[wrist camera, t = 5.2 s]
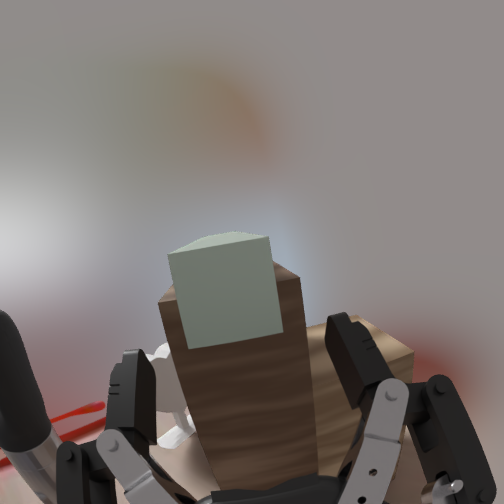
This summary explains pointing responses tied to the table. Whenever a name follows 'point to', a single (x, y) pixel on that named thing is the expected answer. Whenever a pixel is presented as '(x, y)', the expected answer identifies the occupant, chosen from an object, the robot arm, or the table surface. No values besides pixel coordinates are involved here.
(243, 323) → the pale green bar
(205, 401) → the stand
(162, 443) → the heart sculpture
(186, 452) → the table surface
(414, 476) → the table surface
